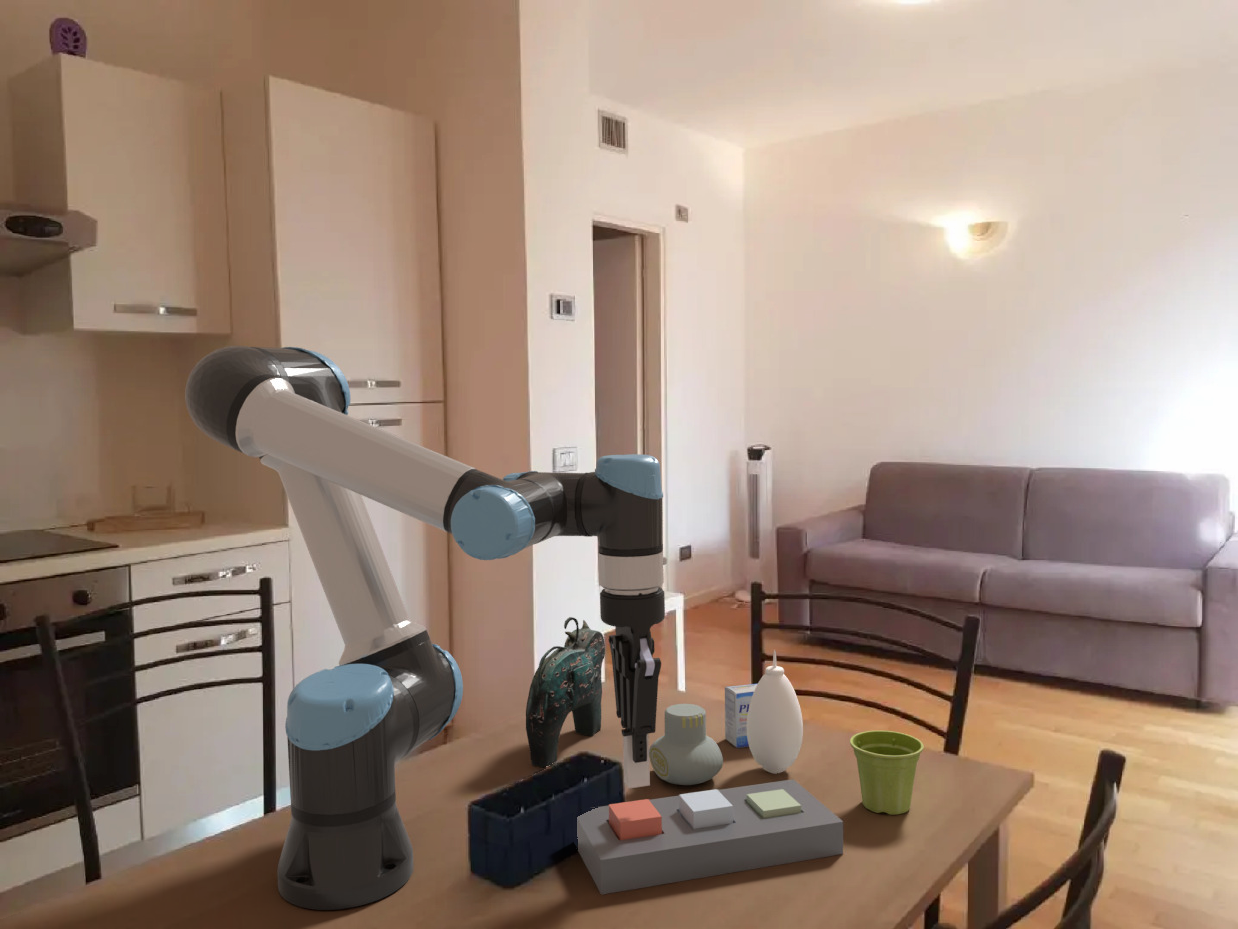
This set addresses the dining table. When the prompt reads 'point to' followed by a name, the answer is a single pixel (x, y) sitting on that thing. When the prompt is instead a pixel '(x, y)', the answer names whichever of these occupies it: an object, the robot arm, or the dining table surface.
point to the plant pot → (886, 769)
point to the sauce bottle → (774, 721)
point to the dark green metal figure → (565, 692)
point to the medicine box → (737, 713)
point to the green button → (773, 803)
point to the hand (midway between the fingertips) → (637, 784)
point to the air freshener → (685, 747)
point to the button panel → (708, 841)
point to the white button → (705, 809)
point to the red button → (634, 819)
